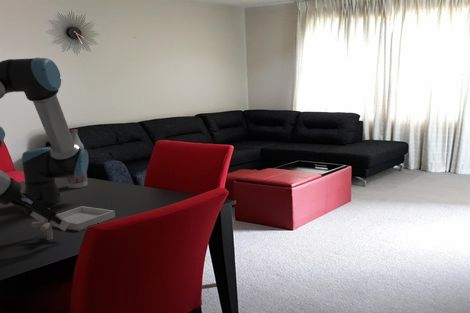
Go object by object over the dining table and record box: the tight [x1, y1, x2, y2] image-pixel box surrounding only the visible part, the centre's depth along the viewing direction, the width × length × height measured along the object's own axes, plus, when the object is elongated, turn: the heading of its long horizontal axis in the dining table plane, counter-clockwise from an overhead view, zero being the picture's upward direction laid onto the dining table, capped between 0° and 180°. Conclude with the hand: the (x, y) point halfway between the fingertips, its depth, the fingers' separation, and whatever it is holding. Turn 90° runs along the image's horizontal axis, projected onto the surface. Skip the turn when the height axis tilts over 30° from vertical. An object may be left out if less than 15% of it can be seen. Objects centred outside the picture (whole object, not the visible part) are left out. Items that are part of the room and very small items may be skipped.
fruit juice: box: [66, 129, 88, 189], centre depth 219 cm, size 9×9×28 cm
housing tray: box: [52, 205, 116, 232], centre depth 162 cm, size 17×17×2 cm
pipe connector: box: [31, 207, 55, 241], centre depth 143 cm, size 10×10×10 cm
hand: (57, 224), depth 146 cm, fingers open, 11 cm apart
